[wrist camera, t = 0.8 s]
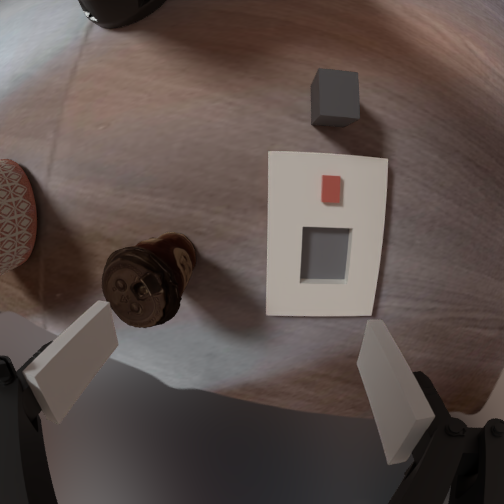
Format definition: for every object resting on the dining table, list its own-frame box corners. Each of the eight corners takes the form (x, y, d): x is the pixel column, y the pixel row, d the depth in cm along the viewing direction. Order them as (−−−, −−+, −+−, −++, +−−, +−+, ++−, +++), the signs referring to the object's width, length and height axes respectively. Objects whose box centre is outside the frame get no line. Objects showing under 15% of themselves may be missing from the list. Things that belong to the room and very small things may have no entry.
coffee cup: (211, 230, 37) (179, 264, 24) (203, 290, 39) (173, 344, 27) (147, 219, 37) (93, 245, 24) (143, 277, 39) (96, 321, 27)
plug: (310, 86, 31) (318, 68, 24) (343, 88, 30) (357, 72, 24) (311, 124, 32) (319, 115, 25) (343, 127, 32) (359, 118, 25)
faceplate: (268, 152, 33) (268, 150, 31) (382, 159, 32) (390, 158, 30) (266, 308, 39) (265, 318, 36) (367, 308, 38) (373, 318, 35)
